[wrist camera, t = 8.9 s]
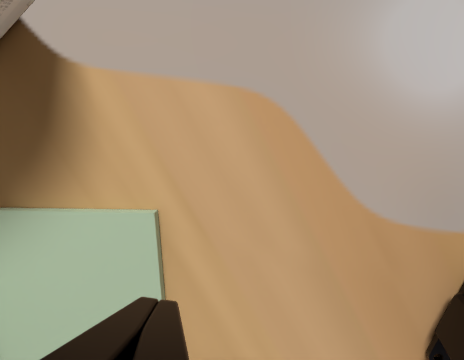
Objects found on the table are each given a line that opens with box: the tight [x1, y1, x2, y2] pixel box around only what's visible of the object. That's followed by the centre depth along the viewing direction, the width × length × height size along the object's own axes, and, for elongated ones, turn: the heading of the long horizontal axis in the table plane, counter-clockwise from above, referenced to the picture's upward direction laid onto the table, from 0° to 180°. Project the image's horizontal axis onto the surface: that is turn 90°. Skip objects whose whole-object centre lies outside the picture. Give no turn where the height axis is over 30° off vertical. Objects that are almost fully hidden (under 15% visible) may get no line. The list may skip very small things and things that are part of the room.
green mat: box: [0, 208, 165, 360], centre depth 26 cm, size 21×13×1 cm, turn 92°
